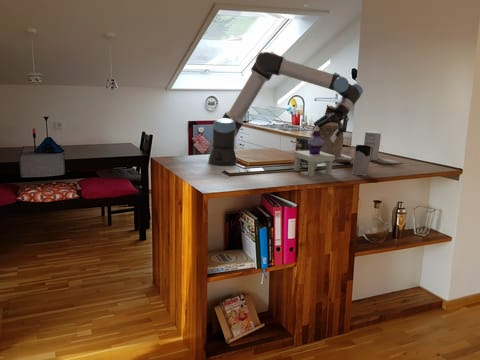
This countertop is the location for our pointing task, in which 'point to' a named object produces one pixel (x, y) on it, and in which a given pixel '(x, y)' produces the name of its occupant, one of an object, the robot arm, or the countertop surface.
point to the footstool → (313, 161)
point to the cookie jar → (328, 145)
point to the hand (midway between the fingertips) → (321, 138)
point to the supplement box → (373, 142)
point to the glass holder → (362, 159)
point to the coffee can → (302, 146)
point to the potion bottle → (315, 143)
